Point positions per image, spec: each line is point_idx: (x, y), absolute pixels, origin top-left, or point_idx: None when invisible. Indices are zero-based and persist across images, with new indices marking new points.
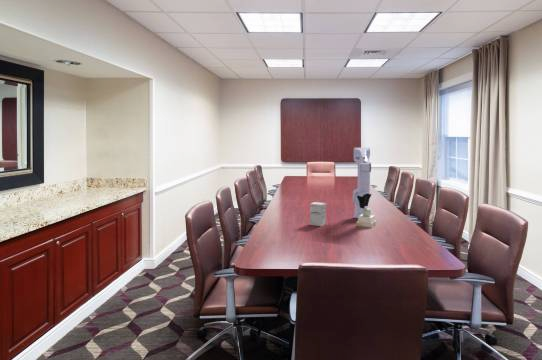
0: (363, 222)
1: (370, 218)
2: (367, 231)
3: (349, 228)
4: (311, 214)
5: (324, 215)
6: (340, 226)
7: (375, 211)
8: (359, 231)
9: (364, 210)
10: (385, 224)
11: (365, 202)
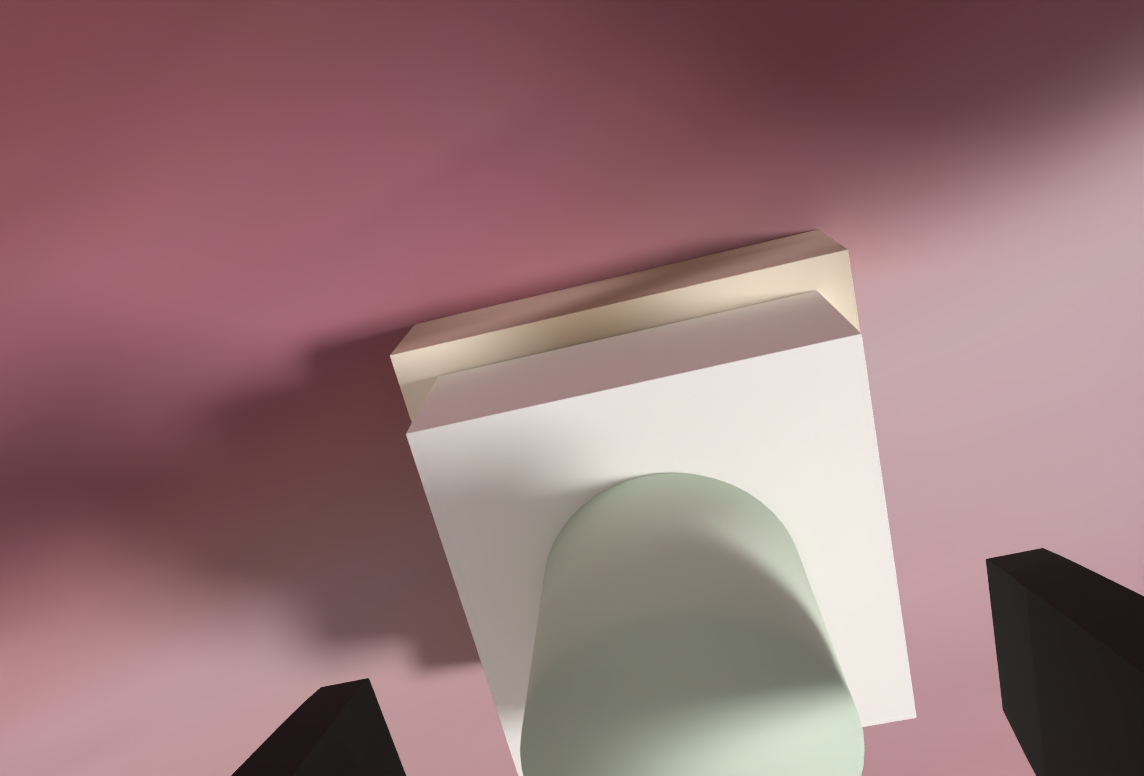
0: None
1: (517, 749)
2: (155, 724)
3: (63, 332)
4: None
5: None
6: (44, 30)
7: None
8: (25, 620)
9: (525, 707)
10: (1009, 724)
11: (1106, 770)
